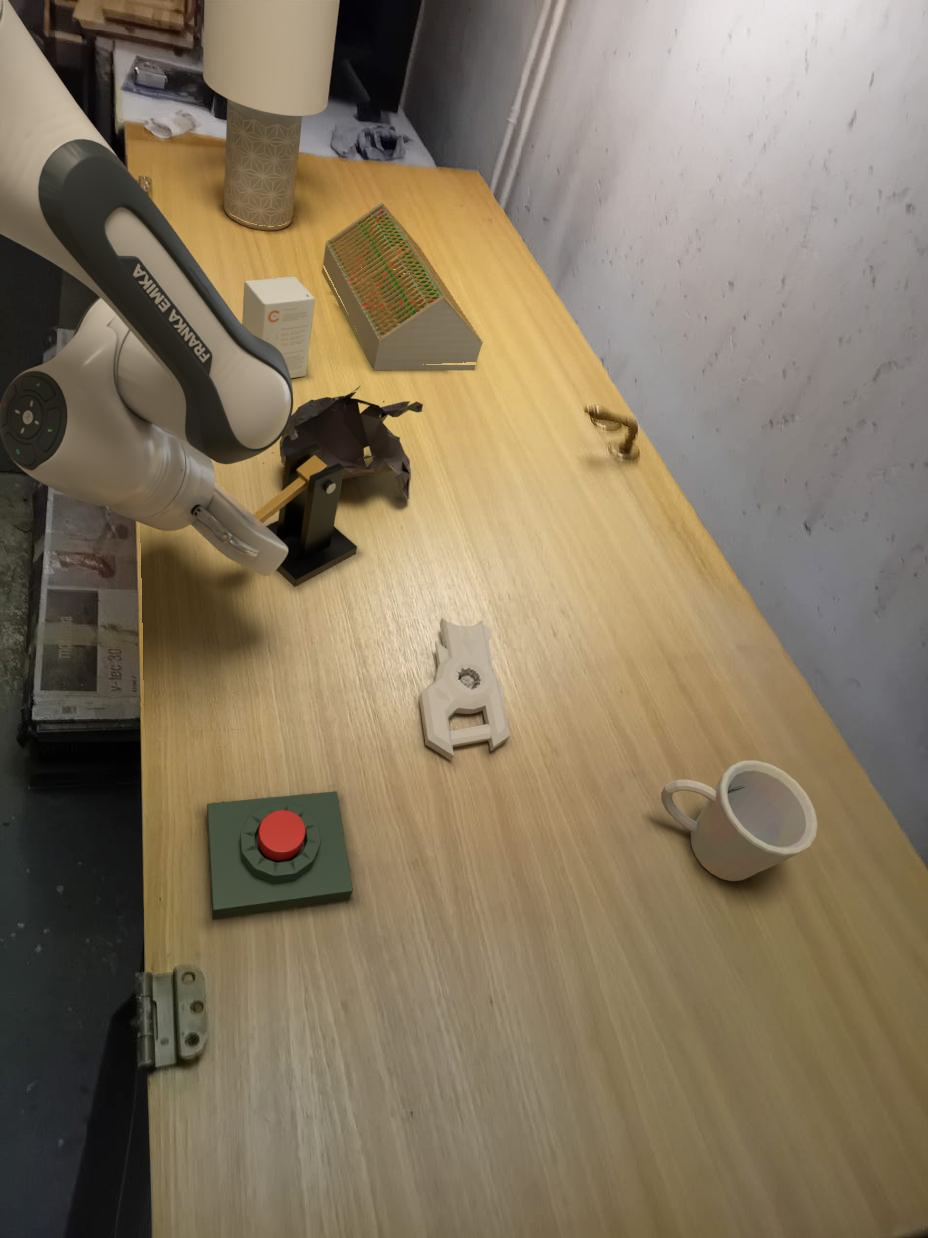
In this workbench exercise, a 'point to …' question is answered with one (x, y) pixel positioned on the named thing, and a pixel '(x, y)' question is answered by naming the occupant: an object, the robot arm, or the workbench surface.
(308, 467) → the lever
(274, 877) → the button box
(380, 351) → the grey sloped slatted box
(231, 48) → the lamp
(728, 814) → the mug
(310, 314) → the small box
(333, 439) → the crumpled paper
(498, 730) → the beige holed clip
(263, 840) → the button
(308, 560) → the black lever stand
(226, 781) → the workbench surface
